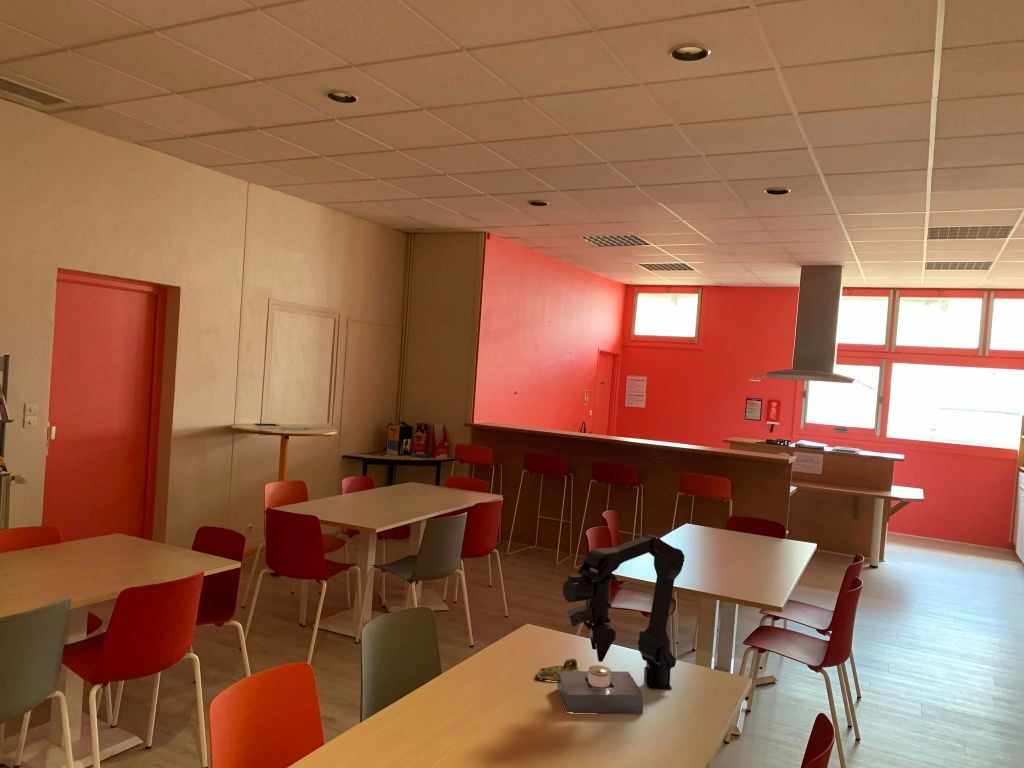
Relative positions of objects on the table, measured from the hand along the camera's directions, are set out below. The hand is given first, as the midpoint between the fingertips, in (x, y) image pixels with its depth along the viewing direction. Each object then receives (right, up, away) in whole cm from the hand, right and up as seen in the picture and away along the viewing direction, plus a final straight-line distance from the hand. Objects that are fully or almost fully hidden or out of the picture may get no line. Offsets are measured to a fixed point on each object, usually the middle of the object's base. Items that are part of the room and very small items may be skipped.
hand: (597, 655), depth 203 cm
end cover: (0, -12, -1) cm, 12 cm away
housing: (0, -12, -1) cm, 12 cm away
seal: (-10, -12, +16) cm, 23 cm away
